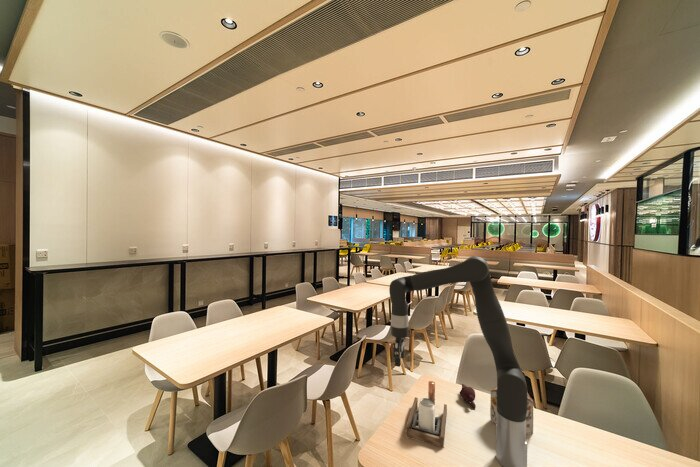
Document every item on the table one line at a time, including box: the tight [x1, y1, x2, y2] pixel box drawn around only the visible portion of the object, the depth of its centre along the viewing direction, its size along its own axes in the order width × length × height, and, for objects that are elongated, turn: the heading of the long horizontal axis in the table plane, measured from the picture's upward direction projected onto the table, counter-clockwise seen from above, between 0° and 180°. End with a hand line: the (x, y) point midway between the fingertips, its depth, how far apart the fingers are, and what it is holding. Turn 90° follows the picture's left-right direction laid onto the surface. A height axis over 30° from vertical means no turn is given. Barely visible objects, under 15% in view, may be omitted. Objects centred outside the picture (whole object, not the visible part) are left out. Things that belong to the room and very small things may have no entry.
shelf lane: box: [405, 397, 448, 449], centre depth 118 cm, size 14×22×4 cm, turn 157°
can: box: [417, 397, 436, 432], centre depth 114 cm, size 6×6×12 cm
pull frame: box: [411, 380, 442, 437], centre depth 122 cm, size 10×26×10 cm, turn 157°
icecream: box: [459, 383, 476, 409], centre depth 136 cm, size 7×7×15 cm
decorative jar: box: [489, 384, 534, 436], centre depth 118 cm, size 12×12×18 cm
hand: (399, 361), depth 119 cm, fingers open, 8 cm apart
